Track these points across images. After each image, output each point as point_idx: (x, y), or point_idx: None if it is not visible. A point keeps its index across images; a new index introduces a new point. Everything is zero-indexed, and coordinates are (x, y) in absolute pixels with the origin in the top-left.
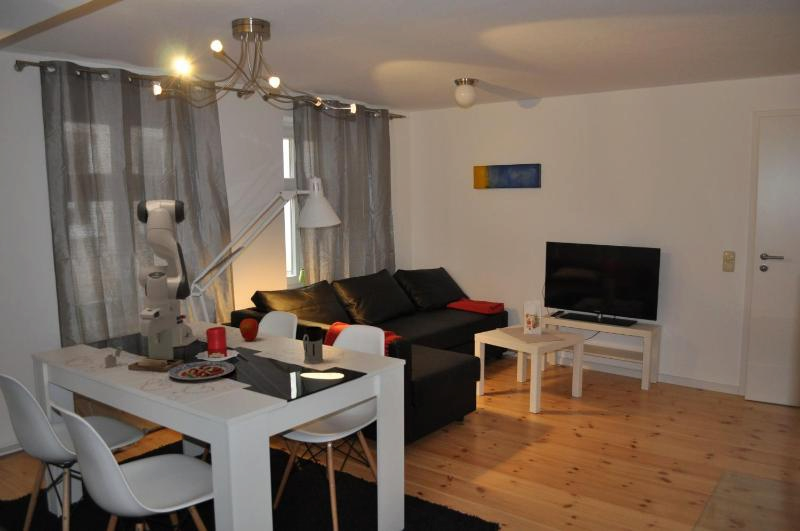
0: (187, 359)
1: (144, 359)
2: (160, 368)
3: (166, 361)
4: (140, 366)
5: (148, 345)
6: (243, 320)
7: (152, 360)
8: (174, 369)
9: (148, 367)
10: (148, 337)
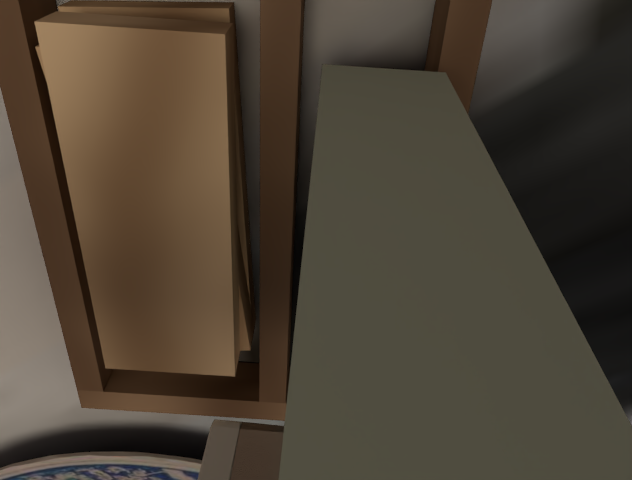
0: (611, 341)
1: (186, 67)
2: (76, 357)
3: (227, 368)
4: (12, 113)
5: (312, 169)
6: None
7: (177, 223)
8: (90, 475)
9: (44, 228)
10: (296, 334)
